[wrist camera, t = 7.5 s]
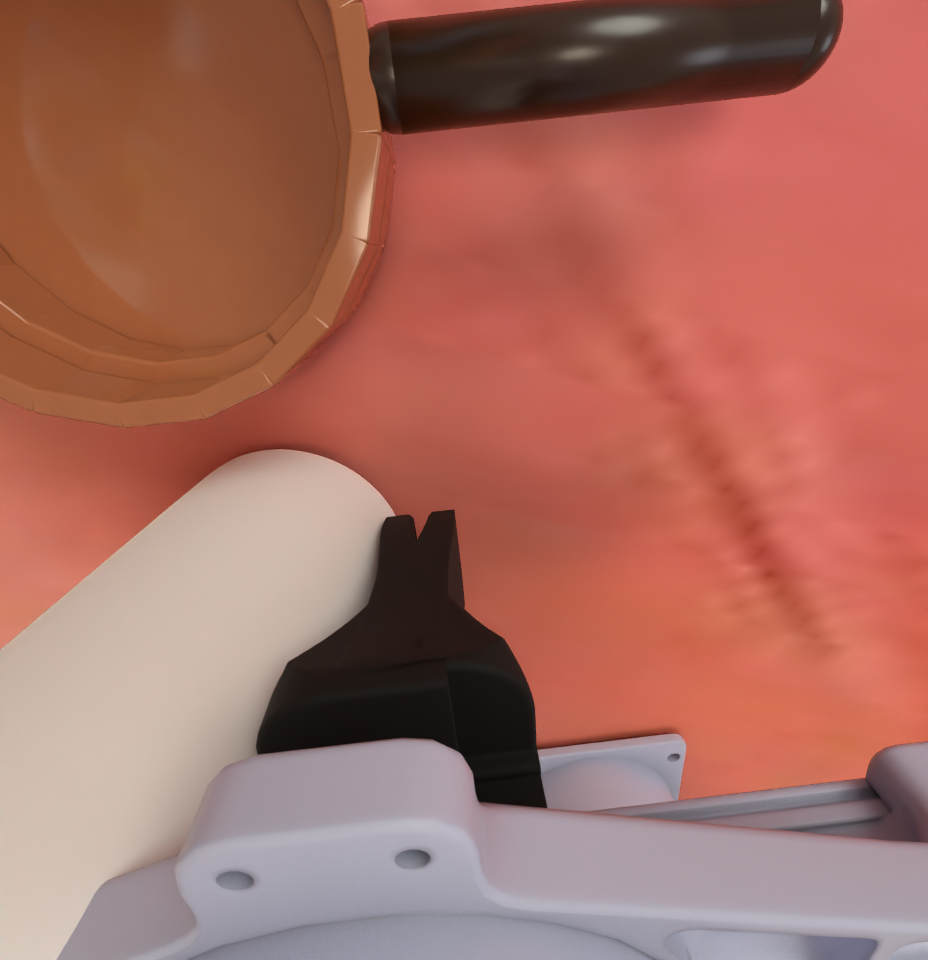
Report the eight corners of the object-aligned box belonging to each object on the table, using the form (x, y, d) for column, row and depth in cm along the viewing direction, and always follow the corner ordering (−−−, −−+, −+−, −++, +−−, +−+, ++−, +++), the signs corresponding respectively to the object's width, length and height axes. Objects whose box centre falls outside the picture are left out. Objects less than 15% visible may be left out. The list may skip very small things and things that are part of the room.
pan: (423, 358, 13) (419, 395, 9) (42, 401, 12) (-96, 454, 9) (344, -227, 8) (285, -542, 5) (-243, -169, 8) (-697, -453, 5)
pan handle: (792, 100, 9) (854, 75, 7) (366, 147, 9) (354, 127, 7) (809, -2, 8) (879, -50, 7) (350, 46, 8) (334, 6, 7)
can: (177, 583, 15) (-536, 1392, 4) (217, 405, 13) (-1264, 1306, 2) (368, 646, 16) (167, 1423, 6) (441, 494, 14) (330, 1395, 3)
